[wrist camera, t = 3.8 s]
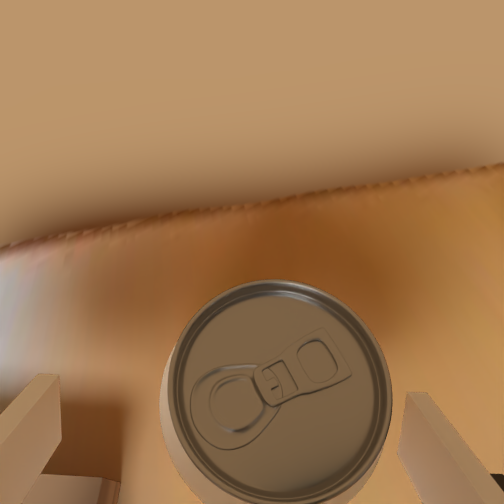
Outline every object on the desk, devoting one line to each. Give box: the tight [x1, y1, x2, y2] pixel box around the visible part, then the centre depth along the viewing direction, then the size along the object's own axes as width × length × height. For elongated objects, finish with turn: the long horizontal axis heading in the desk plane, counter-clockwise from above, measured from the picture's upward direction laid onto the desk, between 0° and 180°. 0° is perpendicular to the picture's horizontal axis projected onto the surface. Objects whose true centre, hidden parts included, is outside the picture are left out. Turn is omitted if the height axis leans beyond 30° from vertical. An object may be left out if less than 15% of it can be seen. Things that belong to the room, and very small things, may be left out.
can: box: [159, 279, 392, 504], centre depth 16 cm, size 6×6×12 cm
